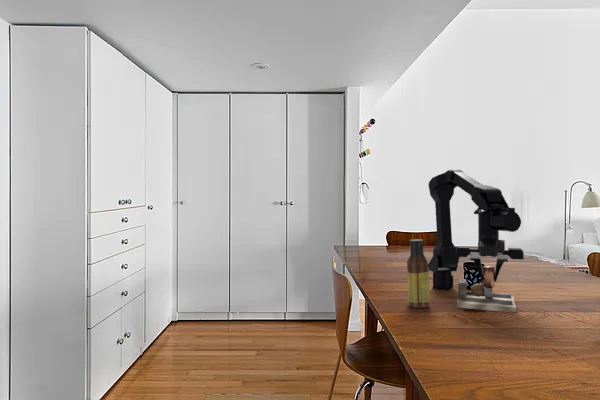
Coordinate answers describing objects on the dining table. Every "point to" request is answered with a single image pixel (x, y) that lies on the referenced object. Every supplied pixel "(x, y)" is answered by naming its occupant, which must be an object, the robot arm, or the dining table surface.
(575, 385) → the dining table surface
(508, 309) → the nutcracker board
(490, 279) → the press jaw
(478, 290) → the walnut
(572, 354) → the dining table surface
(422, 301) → the sauce bottle
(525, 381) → the dining table surface
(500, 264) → the robot arm
